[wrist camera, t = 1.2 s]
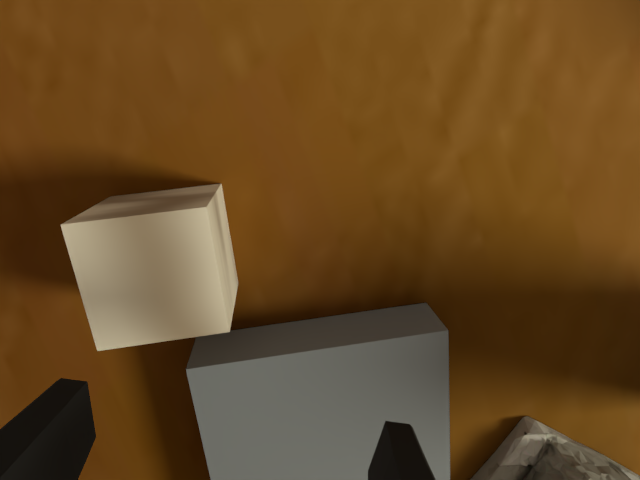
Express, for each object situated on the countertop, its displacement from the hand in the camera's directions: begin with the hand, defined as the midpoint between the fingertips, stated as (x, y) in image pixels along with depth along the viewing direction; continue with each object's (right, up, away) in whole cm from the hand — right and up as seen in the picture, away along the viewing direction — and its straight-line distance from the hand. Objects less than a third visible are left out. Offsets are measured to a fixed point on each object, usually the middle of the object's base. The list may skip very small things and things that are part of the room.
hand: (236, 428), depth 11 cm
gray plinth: (+2, -5, +14) cm, 15 cm away
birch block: (-5, +5, +10) cm, 12 cm away
